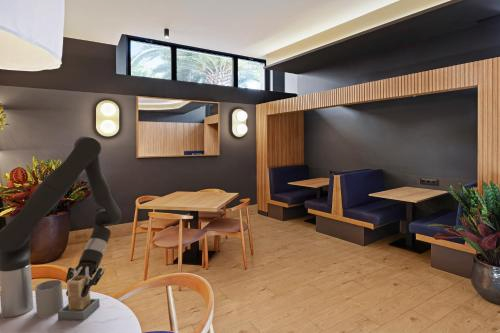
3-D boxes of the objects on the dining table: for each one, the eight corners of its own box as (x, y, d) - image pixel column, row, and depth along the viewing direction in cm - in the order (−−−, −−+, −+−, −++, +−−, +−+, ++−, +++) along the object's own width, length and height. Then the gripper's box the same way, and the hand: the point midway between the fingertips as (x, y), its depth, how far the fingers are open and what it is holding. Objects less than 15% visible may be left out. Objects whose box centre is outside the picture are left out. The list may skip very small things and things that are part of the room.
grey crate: (83, 320, 105) (83, 312, 105) (58, 319, 106) (57, 311, 106) (99, 306, 115) (99, 298, 114) (76, 305, 115) (75, 298, 115)
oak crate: (81, 310, 107) (79, 281, 107) (69, 310, 108) (66, 281, 107) (90, 303, 112) (88, 275, 112) (78, 303, 113) (76, 275, 112)
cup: (49, 317, 108) (48, 291, 107) (31, 315, 109) (29, 289, 109) (68, 305, 116) (66, 280, 115) (50, 303, 117) (49, 279, 117)
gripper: (72, 248, 117) (51, 292, 106) (106, 248, 115) (88, 293, 104) (81, 256, 122) (63, 299, 111) (114, 256, 121) (98, 300, 110)
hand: (75, 296), depth 108 cm, fingers closed on oak crate, 5 cm apart
